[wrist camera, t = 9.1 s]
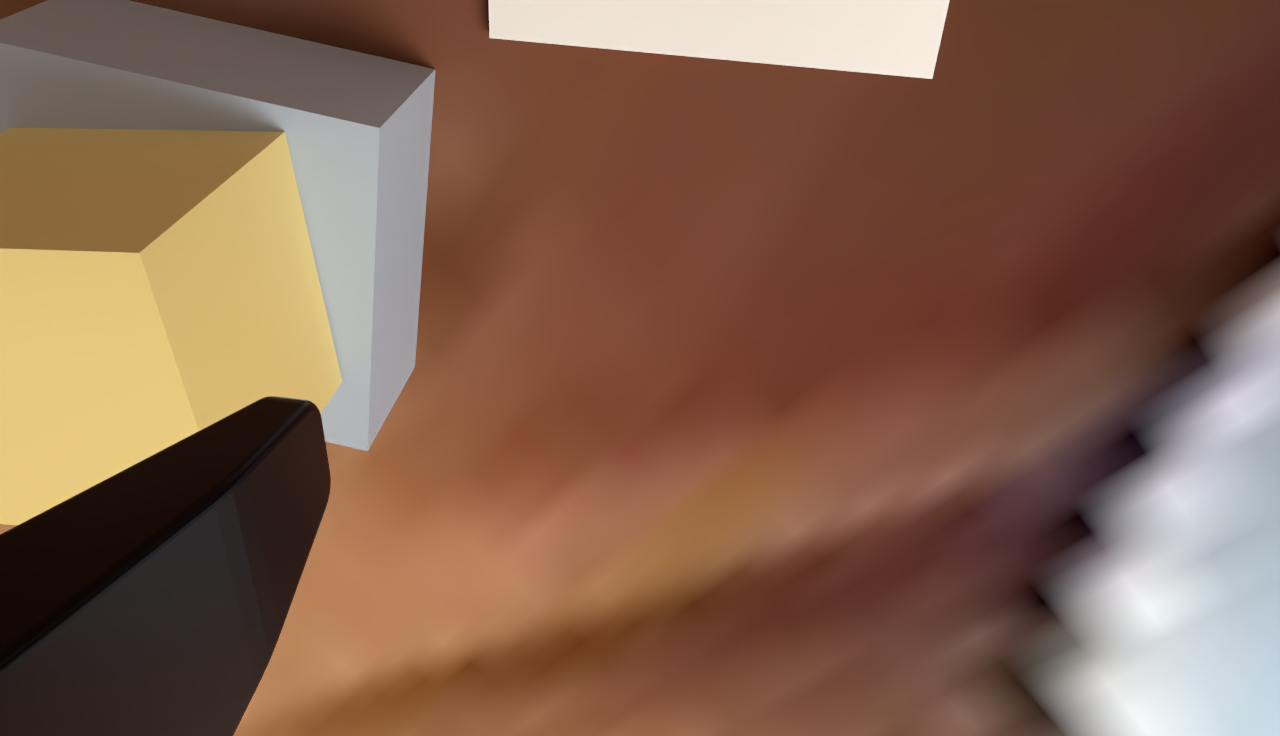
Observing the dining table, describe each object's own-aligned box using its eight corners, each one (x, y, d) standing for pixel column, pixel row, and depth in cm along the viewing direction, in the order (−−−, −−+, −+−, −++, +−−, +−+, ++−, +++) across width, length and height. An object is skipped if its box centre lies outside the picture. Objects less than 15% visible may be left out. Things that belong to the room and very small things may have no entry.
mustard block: (285, 131, 17) (139, 253, 13) (342, 381, 20) (235, 540, 16) (11, 127, 17) (-203, 242, 14) (103, 369, 20) (-54, 520, 16)
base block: (440, 63, 19) (379, 128, 17) (419, 357, 23) (367, 451, 21) (86, -17, 20) (-37, 34, 17) (125, 291, 23) (32, 375, 21)
